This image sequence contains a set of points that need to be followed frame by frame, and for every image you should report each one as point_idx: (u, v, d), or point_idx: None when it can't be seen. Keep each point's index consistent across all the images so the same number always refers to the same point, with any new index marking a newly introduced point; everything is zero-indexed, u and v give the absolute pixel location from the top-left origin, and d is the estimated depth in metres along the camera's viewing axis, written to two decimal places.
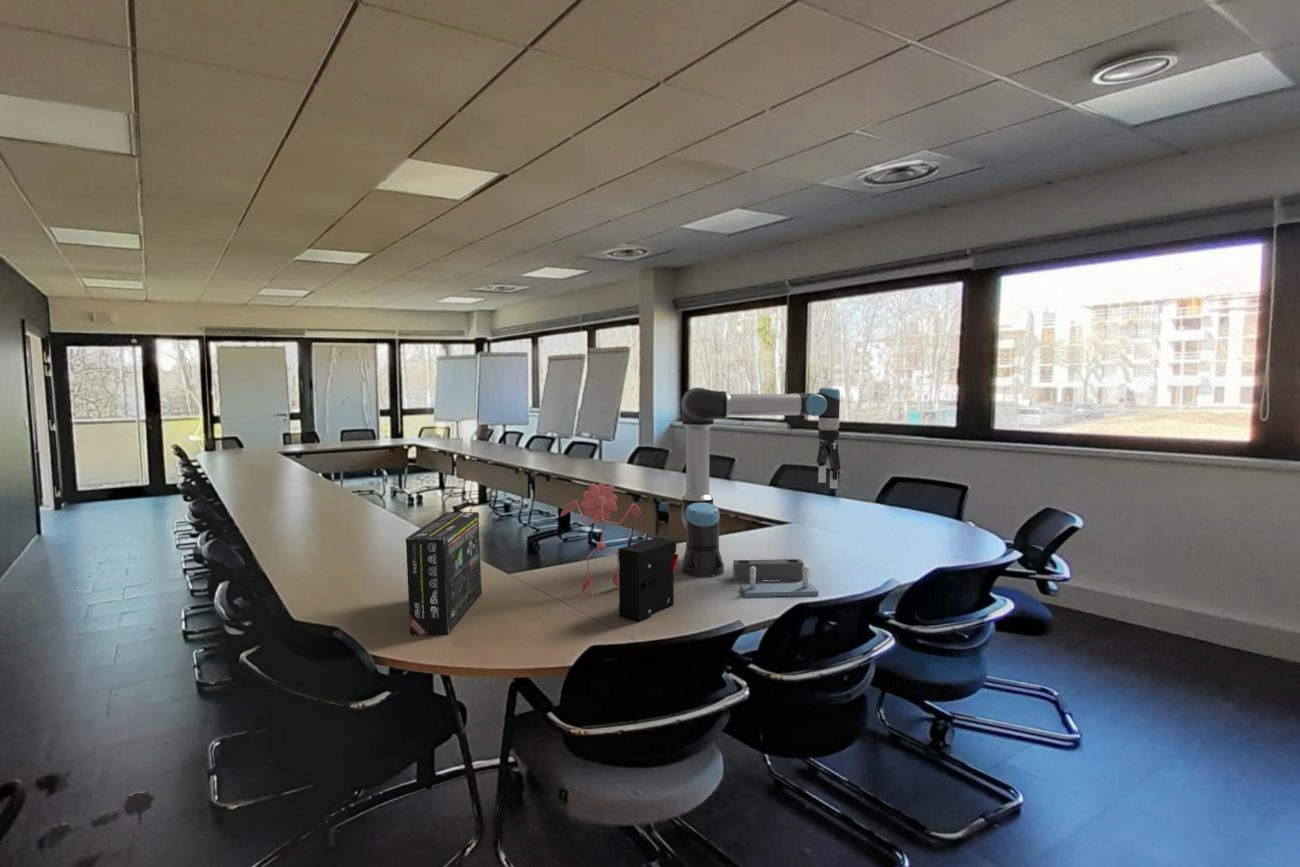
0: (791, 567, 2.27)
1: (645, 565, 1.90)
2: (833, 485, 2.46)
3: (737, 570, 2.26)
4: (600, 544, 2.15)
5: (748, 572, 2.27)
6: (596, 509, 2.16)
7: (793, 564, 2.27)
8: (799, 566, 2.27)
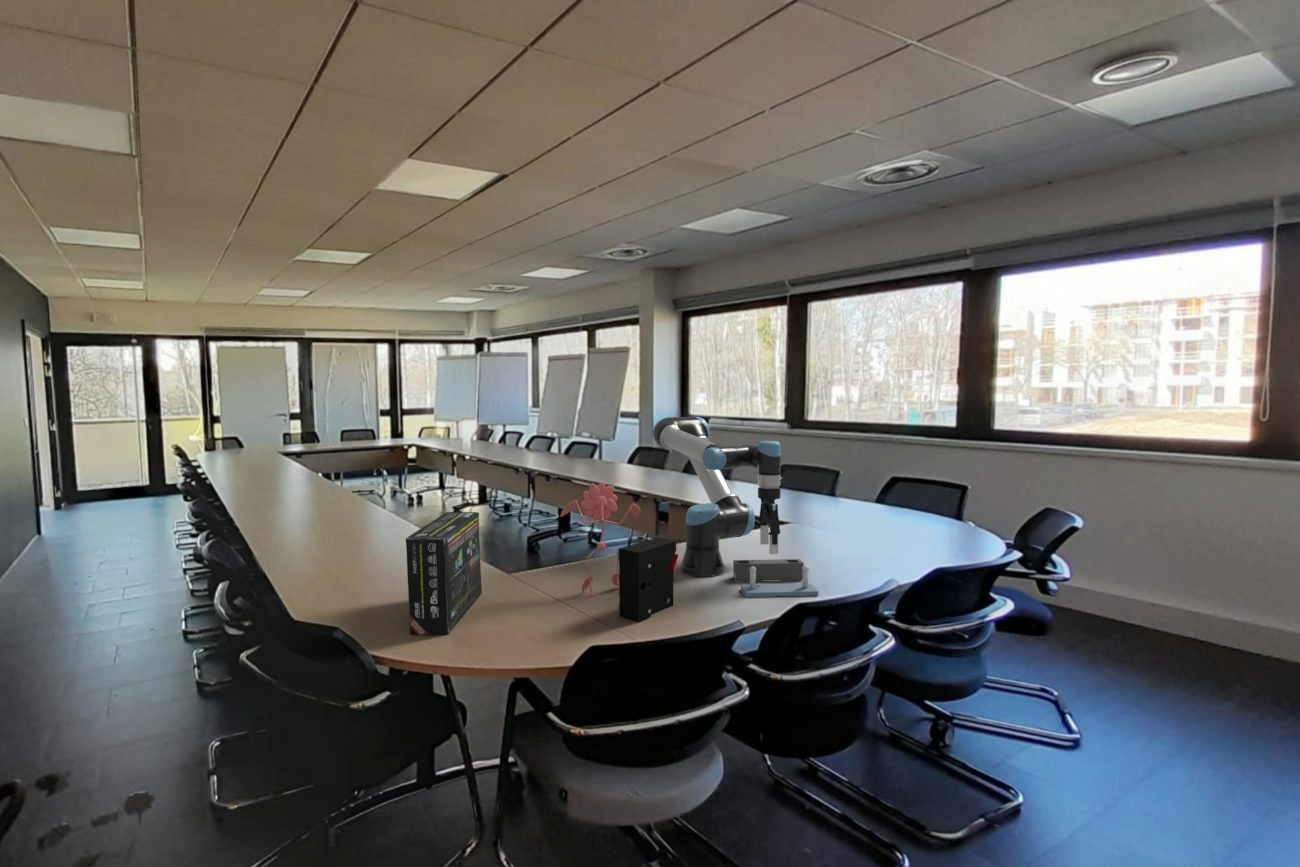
0: (791, 567, 2.27)
1: (645, 565, 1.90)
2: (773, 551, 2.21)
3: (737, 570, 2.26)
4: (600, 544, 2.15)
5: (748, 572, 2.27)
6: (596, 509, 2.16)
7: (793, 564, 2.27)
8: (799, 566, 2.27)
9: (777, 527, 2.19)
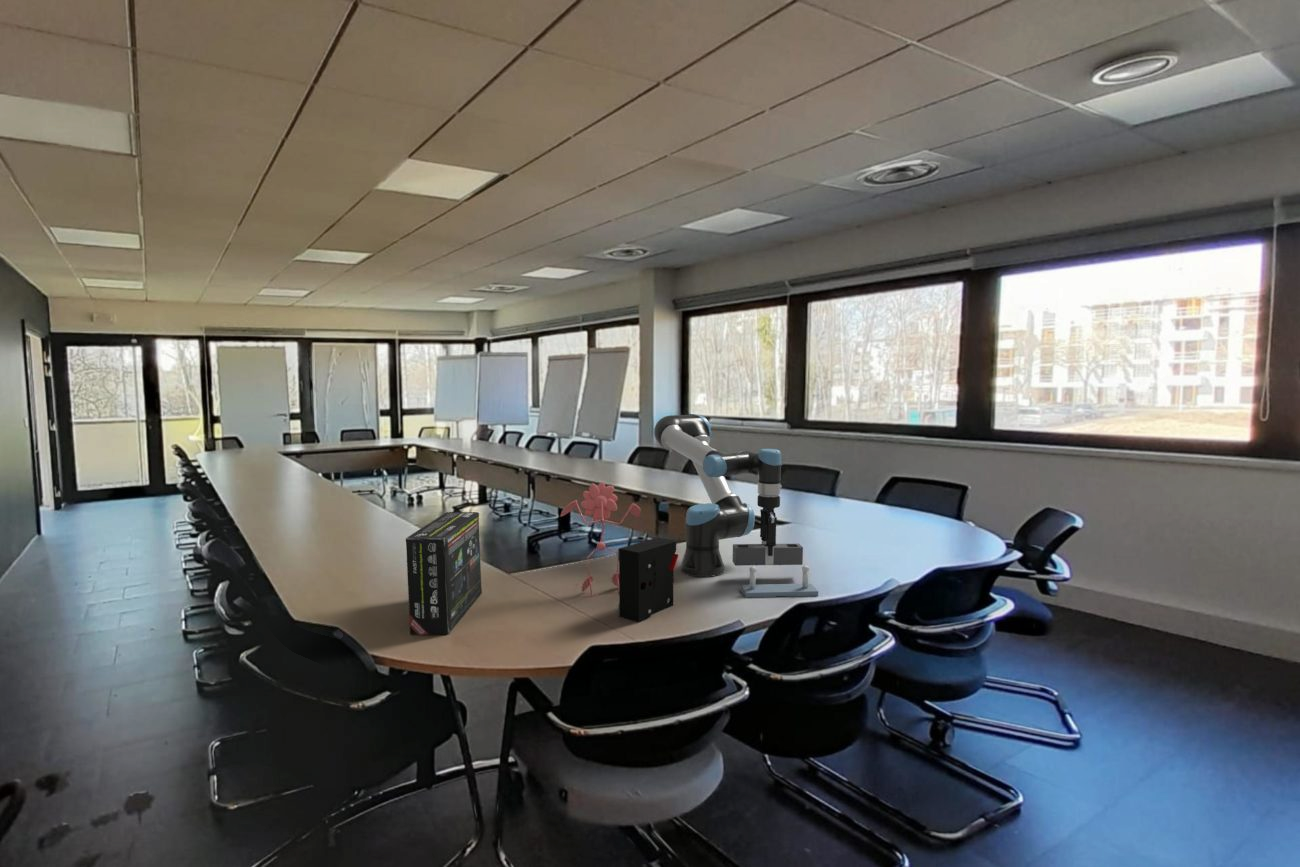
0: (790, 551, 2.27)
1: (645, 565, 1.90)
2: (769, 562, 2.26)
3: (736, 554, 2.26)
4: (600, 544, 2.15)
5: (747, 556, 2.26)
6: (596, 509, 2.16)
7: (792, 548, 2.27)
8: (798, 550, 2.27)
9: (773, 540, 2.23)
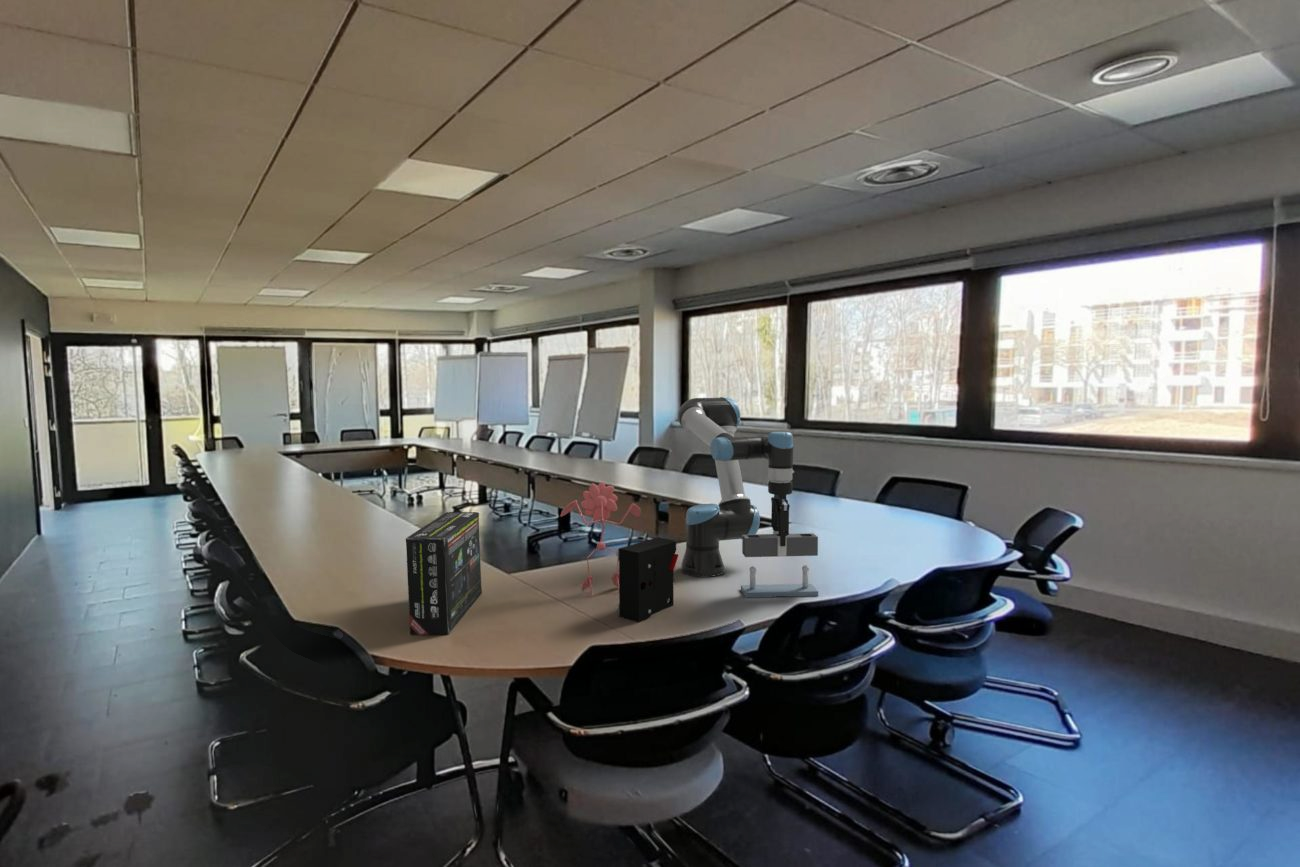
0: (805, 541, 2.11)
1: (645, 565, 1.90)
2: (781, 553, 2.10)
3: (747, 545, 2.10)
4: (600, 544, 2.15)
5: (758, 547, 2.11)
6: (596, 509, 2.16)
7: (807, 538, 2.11)
8: (813, 540, 2.12)
9: (786, 529, 2.07)
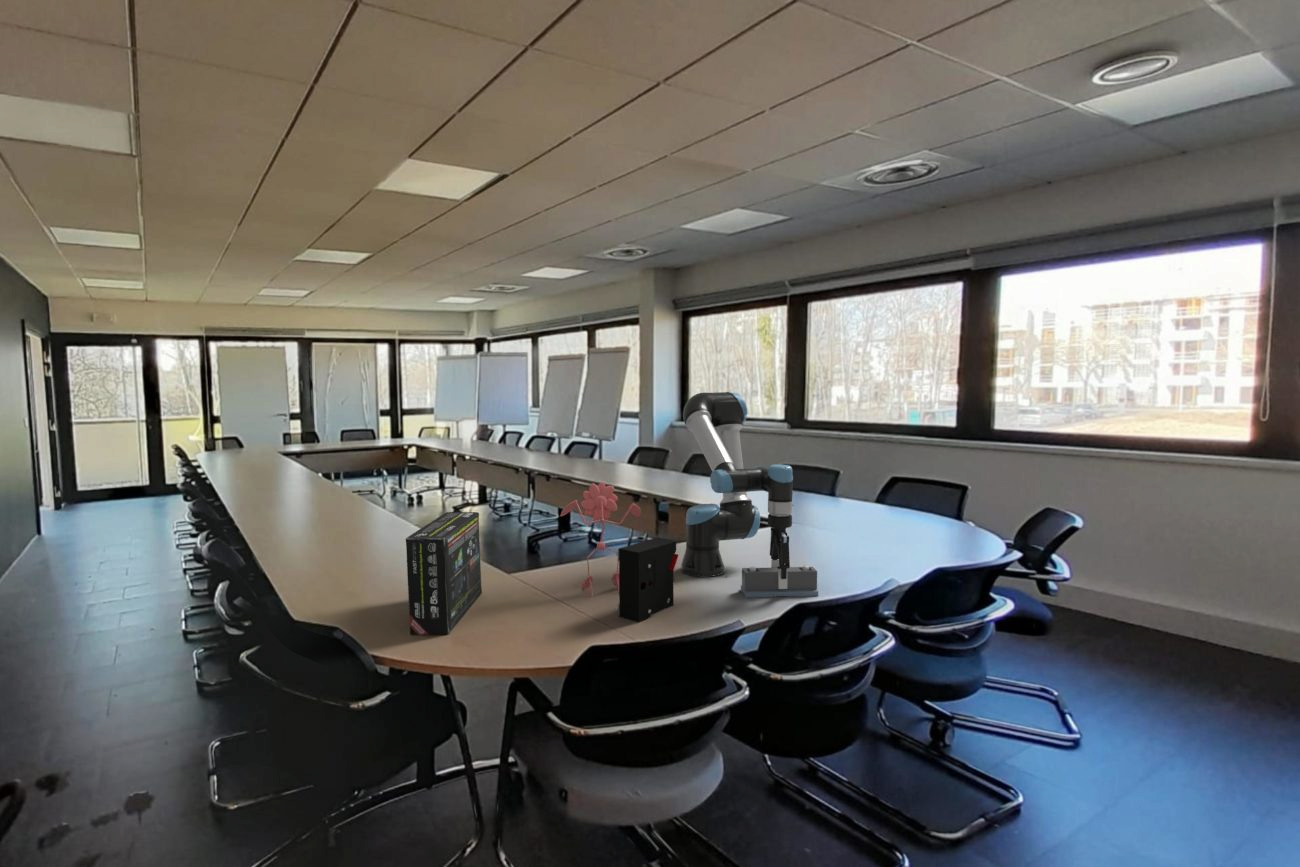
0: (804, 575, 2.12)
1: (645, 565, 1.90)
2: (782, 585, 2.10)
3: (746, 579, 2.11)
4: (600, 544, 2.15)
5: (758, 581, 2.12)
6: (596, 509, 2.16)
7: (806, 572, 2.12)
8: (812, 574, 2.12)
9: (787, 561, 2.06)
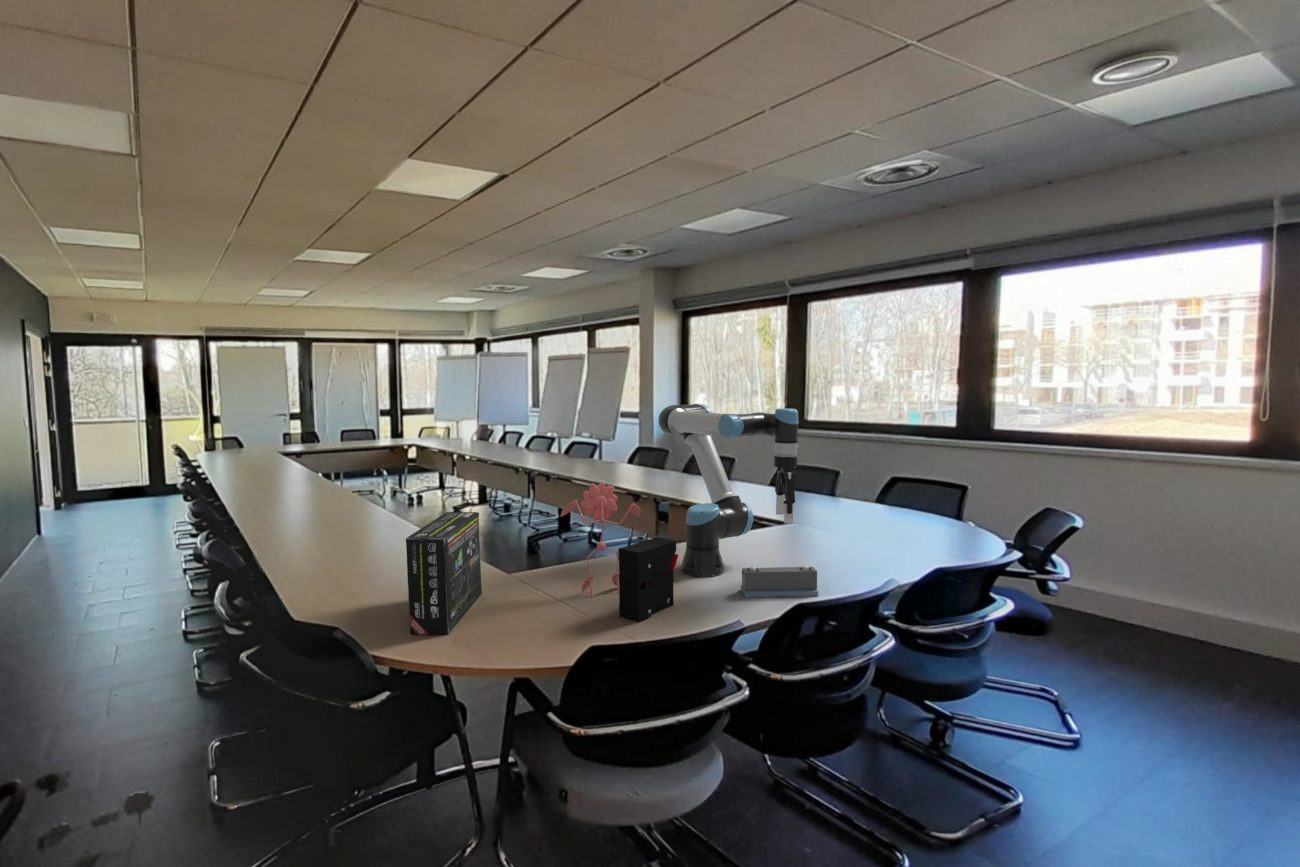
0: (804, 575, 2.12)
1: (645, 565, 1.90)
2: (788, 520, 2.17)
3: (746, 579, 2.11)
4: (600, 544, 2.15)
5: (758, 581, 2.12)
6: (596, 509, 2.16)
7: (806, 572, 2.12)
8: (812, 574, 2.12)
9: (792, 496, 2.14)
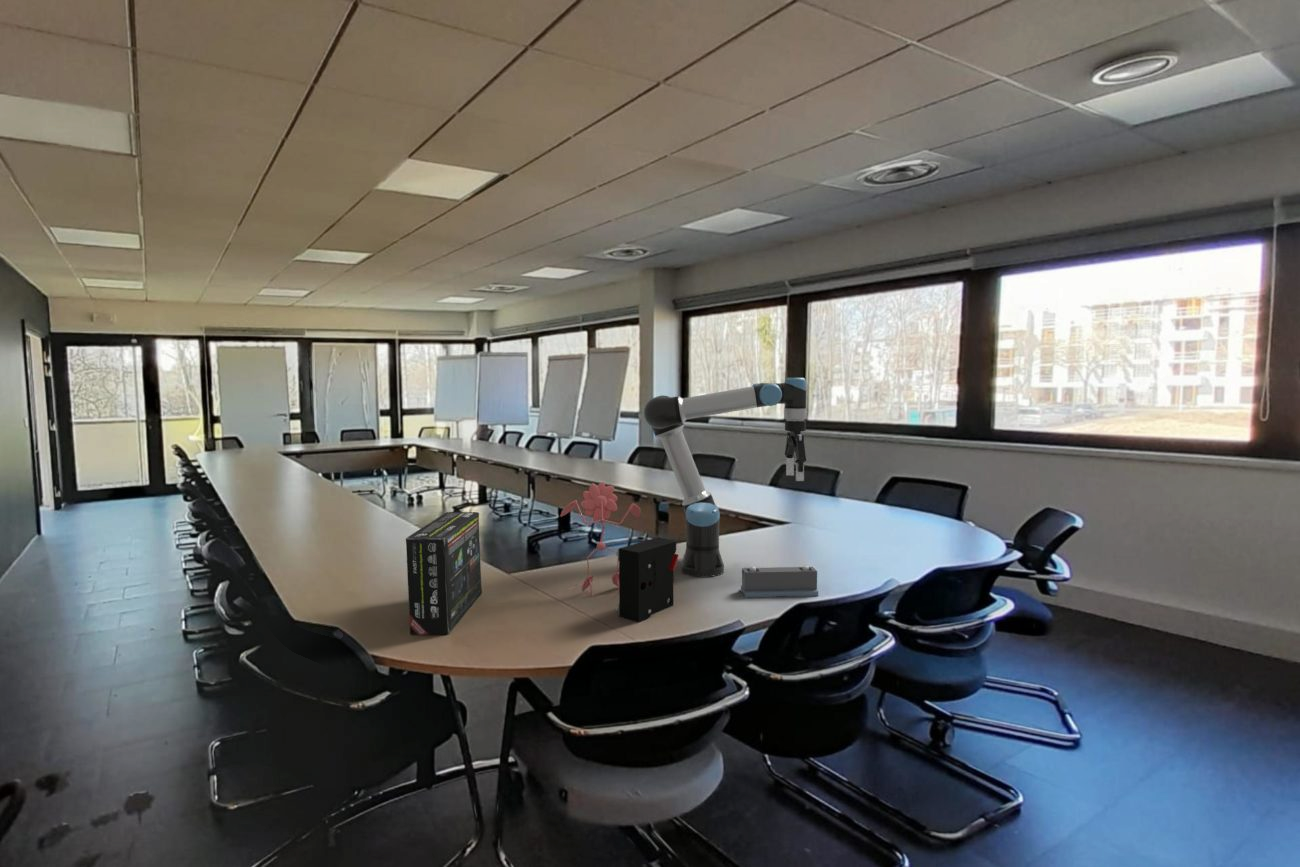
0: (804, 575, 2.12)
1: (645, 565, 1.90)
2: (799, 478, 2.39)
3: (746, 579, 2.11)
4: (600, 544, 2.15)
5: (758, 581, 2.12)
6: (596, 509, 2.16)
7: (806, 572, 2.12)
8: (812, 574, 2.12)
9: (803, 455, 2.36)
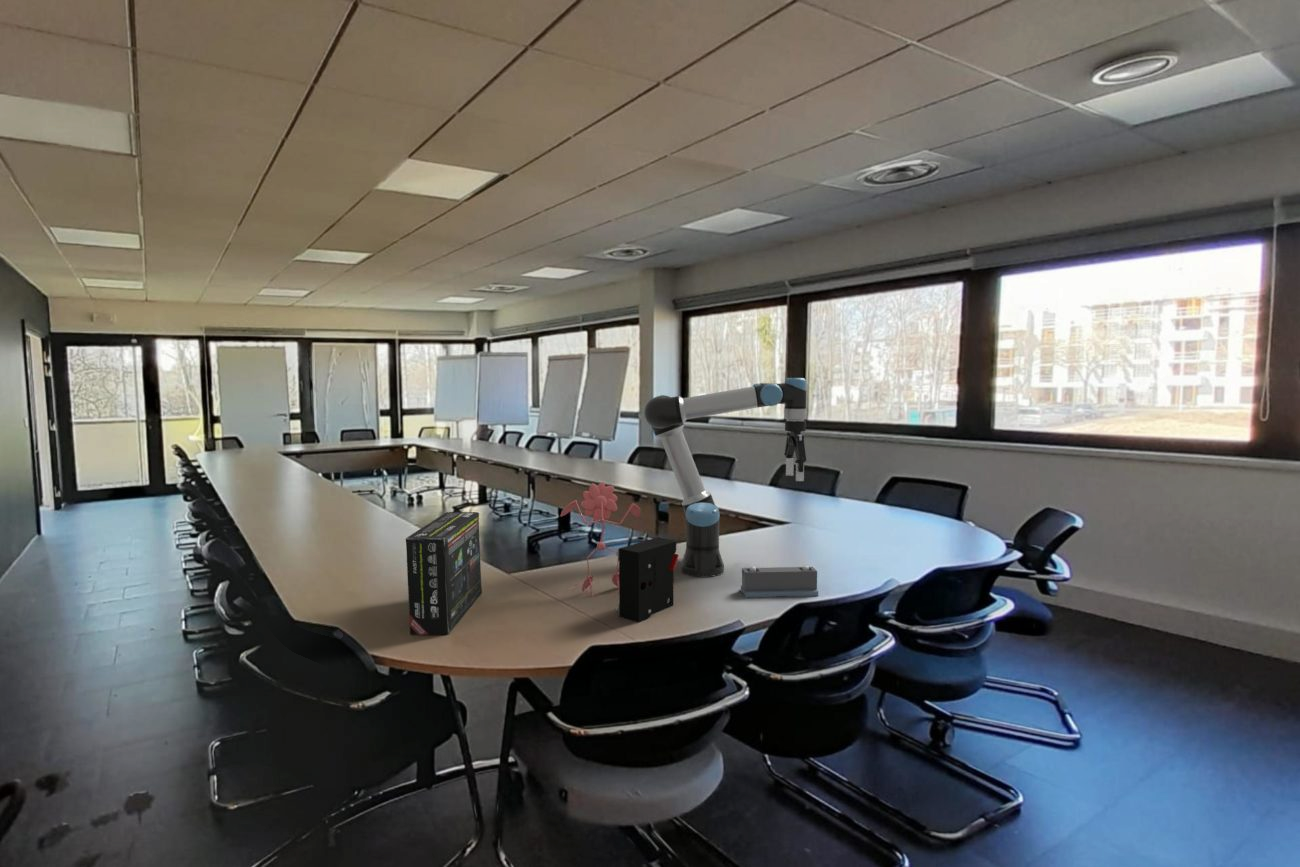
0: (804, 575, 2.12)
1: (645, 565, 1.90)
2: (799, 478, 2.40)
3: (746, 579, 2.11)
4: (600, 544, 2.15)
5: (758, 581, 2.12)
6: (596, 509, 2.16)
7: (806, 572, 2.12)
8: (812, 574, 2.12)
9: (803, 455, 2.37)
